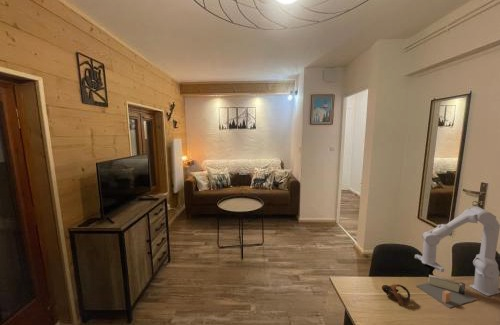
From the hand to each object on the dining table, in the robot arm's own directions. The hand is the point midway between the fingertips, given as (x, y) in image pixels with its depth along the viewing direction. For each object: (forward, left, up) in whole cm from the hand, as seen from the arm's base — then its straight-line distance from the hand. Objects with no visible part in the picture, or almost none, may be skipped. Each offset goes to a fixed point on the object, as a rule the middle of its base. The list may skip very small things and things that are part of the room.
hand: (427, 276), depth 124 cm
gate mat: (+1, +10, -3) cm, 10 cm away
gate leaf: (-1, +7, -2) cm, 7 cm away
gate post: (-6, +13, -3) cm, 14 cm away
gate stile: (+7, +14, -3) cm, 16 cm away
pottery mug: (+28, +5, -3) cm, 29 cm away
